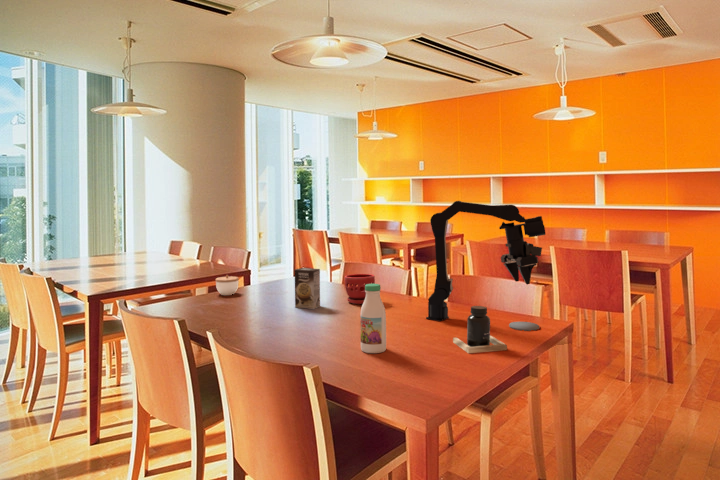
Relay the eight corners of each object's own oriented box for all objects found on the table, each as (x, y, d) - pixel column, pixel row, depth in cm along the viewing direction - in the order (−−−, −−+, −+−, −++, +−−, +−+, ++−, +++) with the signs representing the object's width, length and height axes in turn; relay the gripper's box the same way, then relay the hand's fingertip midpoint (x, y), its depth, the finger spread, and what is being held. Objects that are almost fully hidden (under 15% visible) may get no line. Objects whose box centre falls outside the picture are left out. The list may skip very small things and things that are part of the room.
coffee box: (294, 307, 206) (293, 269, 205) (302, 304, 212) (301, 267, 211) (313, 309, 203) (313, 270, 201) (321, 305, 209) (320, 268, 207)
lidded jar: (212, 296, 233) (211, 276, 232) (222, 291, 243) (221, 273, 242) (233, 296, 231) (232, 276, 230) (242, 292, 241) (242, 273, 240)
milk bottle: (369, 344, 154) (369, 281, 152) (391, 348, 149) (390, 283, 147) (355, 351, 147) (354, 285, 146) (377, 355, 143) (376, 287, 141)
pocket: (453, 342, 155) (453, 337, 155) (489, 339, 157) (489, 334, 157) (468, 353, 144) (468, 348, 144) (506, 350, 146) (507, 345, 146)
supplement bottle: (490, 349, 147) (490, 310, 146) (467, 348, 149) (467, 309, 147) (489, 342, 154) (489, 305, 153) (466, 341, 155) (467, 304, 154)
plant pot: (380, 300, 217) (380, 274, 216) (364, 306, 206) (364, 278, 205) (355, 297, 224) (355, 271, 223) (339, 303, 213) (338, 276, 212)
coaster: (504, 327, 171) (504, 326, 171) (515, 321, 179) (515, 320, 178) (533, 332, 164) (533, 330, 164) (543, 326, 172) (543, 324, 172)
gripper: (549, 236, 165) (556, 281, 166) (525, 235, 184) (532, 275, 185) (517, 242, 165) (525, 287, 165) (497, 240, 183) (504, 281, 184)
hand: (522, 282), depth 175 cm, fingers open, 9 cm apart
